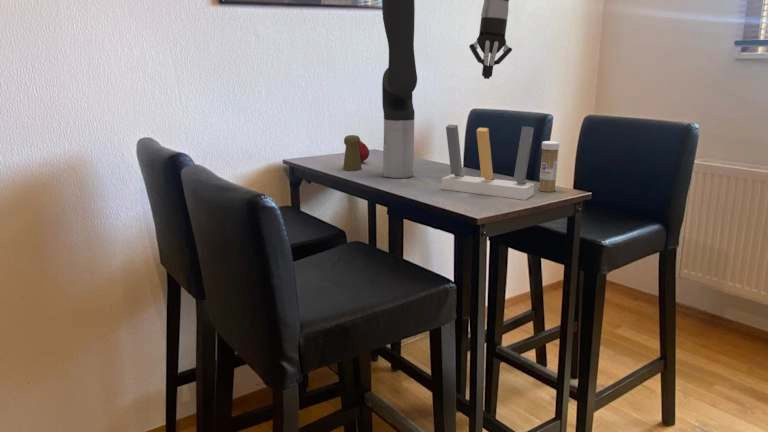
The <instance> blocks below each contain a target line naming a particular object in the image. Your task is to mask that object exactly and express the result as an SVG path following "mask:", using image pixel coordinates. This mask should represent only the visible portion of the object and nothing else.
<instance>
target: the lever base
mask: <svg viewBox="0 0 768 432" xmlns="http://www.w3.org/2000/svg"><path fill="white" fill-rule="evenodd" d="M440 190H446V191H453V192H454V191H455V192H461V193H470V194H476V195H477V194H478V195H484V196H493V197H499V198H508V199H515V200H523V201H525V200H527V199H530V198H531V197H533V196H534V194H535V183H532V182H527V181H524V182H523V183H522V184H518V183H517V181H516V180H515V181H514V180H505V179H496V178H495V177H494V178H493V177H492V178H491V179H490V180H485V178H482V177H481V176H480V177H478V176H471V175H465V174H461V175H460V176H458V177H457V176H455V175H454V174H450V175H447V176H444V177H441V179H440Z"/></svg>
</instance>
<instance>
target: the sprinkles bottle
mask: <svg viewBox="0 0 768 432" xmlns="http://www.w3.org/2000/svg"><path fill="white" fill-rule="evenodd" d="M559 150H560V142H558V141H553V140H545V141H542V142H541V159H540V160H541V162H540V168H539V169H540V171H539V184H538V190H539V191H541V192H545V193H547V192H548V193H550V192H551V193H552V192H555V191H556V184H557V183H556V181H557V172H558V163H559V162H558V157H559Z"/></svg>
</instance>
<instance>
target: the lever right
mask: <svg viewBox="0 0 768 432" xmlns="http://www.w3.org/2000/svg"><path fill="white" fill-rule="evenodd" d="M534 129H535V128H534V127H532V126H523V125H522V126H521V131H520V138H519V143H518V144H519V145H518V150H517V157H516V163H515V166H514V167H515V168H514V175H513V180H515V181H516V182H517V183H518V184H522V183H523V182H526V179H527V172H528V166H529V160H530V156H531V155H530V153H531V147H532V144H533V143H532V142H533V135H534Z"/></svg>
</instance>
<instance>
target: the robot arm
mask: <svg viewBox="0 0 768 432" xmlns="http://www.w3.org/2000/svg"><path fill="white" fill-rule="evenodd" d="M509 3H510V0H484V1H483V4H482V8H481V9H482V10H481V14H480V25H479V32H478V36H477V38H476V41H474V42H473V43H471V44H470V45H468V46H469V49H470V51H471V53H472V55H473V56H474V58H475V59H476V61H477V63H479V64H481V65H482V70H481V71H482V72H481V76H482V77H483V79H484V80H489V79H490V78H491V77H492V76H493V70H494V67H495V66H496V65H500V64H501V63H502V62H503V61H504V60H505V59H506V57H507V56H509V54H510V53H511V52H512V50H513V48H512V47H510V46H509V45H508V44H507V40H506V33H507V32H506V31H507V25H508V16H509ZM381 5H382V6H381V11H382V20H383V27H384V31H385V35H386V40H387V45H388V67H387V68H386V69H385V71H384V72H383V76H382V83H381V84H382V85H381V86H382V88H381V91H382V92H381V93H382V100H381V101H382V110H383V111H382V112H383V146H382V147H383V149H382V150H383V151H382V152H383V156H382V157H383V165H382V166H383V170H382V172H383V174H382V175H383V176H382V177H383V178H393V179H406V178H412V177H413V176H414V173H415V172H414V171H415V170H414V169H415V167H414V163H415V161H414V159H415V156H414V155H415V109H414V103H413V93H414V91H415V89H416V87H417V85H418V74H417V66H416V58H415V56H416V55H415V48H414V47H415V46H414V45H415V44H414V42H415V13H416V11H415V9H416V8H415V5H416V4H415V0H381ZM478 49H480V51H481V52H482V55H483V57H482V56H481V54H480V53H479V51H478ZM501 50H502V54H501V55H500V56H499V57H498V58H497V59H496V57H497V54H498V53H499V52H500V51H501Z"/></svg>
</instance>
